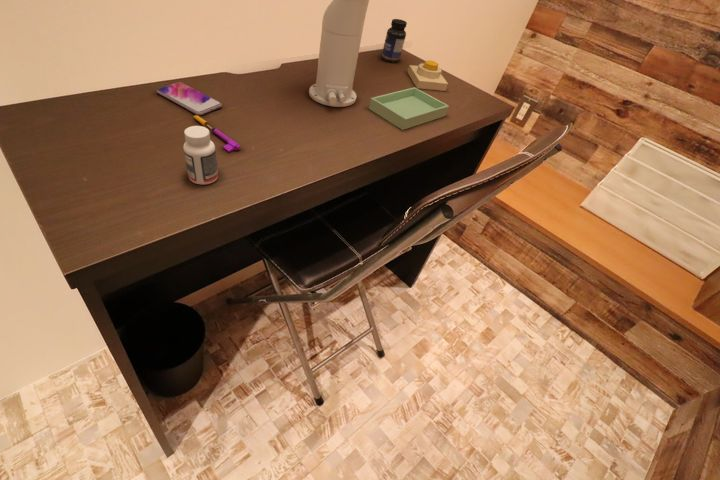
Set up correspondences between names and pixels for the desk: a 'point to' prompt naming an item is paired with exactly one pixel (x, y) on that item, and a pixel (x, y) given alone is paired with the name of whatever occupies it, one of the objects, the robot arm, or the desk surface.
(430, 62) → the button
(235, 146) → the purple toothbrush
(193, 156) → the pill bottle
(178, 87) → the smartphone
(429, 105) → the tray
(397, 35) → the pill bottle
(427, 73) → the box
